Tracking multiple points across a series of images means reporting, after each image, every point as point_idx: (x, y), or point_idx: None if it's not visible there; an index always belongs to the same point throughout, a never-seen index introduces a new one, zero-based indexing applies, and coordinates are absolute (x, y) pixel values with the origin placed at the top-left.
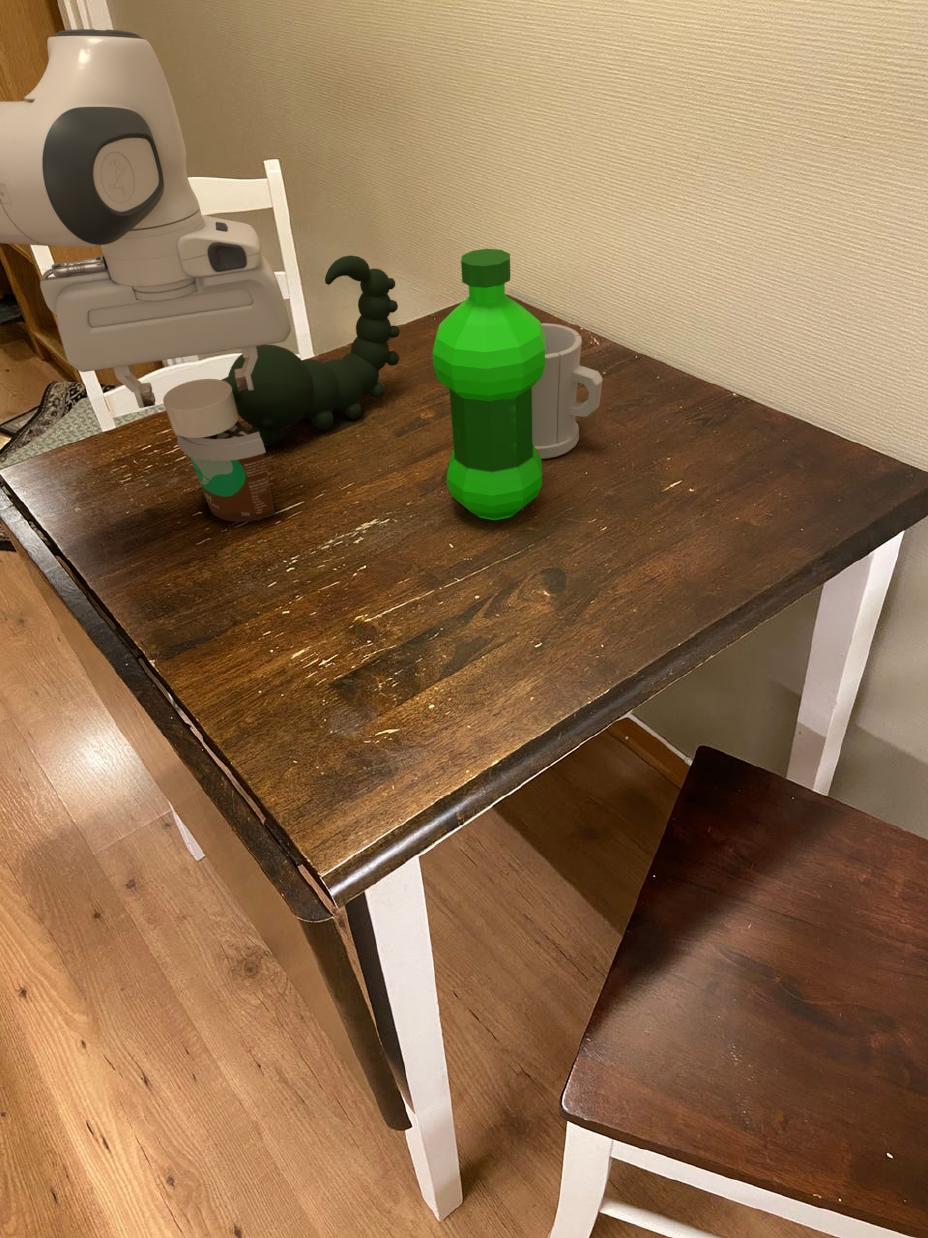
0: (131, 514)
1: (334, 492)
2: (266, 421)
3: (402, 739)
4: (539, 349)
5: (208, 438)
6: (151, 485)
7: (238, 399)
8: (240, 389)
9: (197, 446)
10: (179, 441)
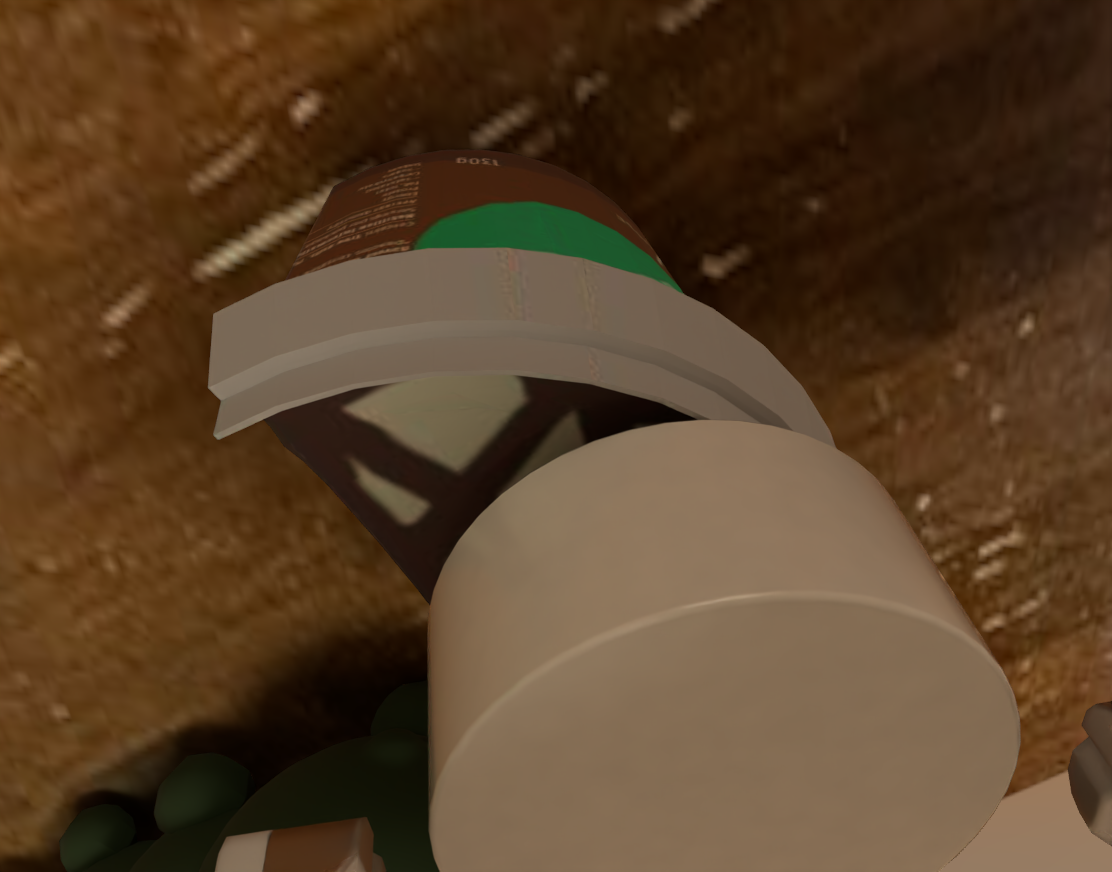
0: (1014, 308)
1: (49, 327)
2: (398, 753)
3: None
4: None
5: None
6: (909, 498)
7: None
8: (338, 837)
9: (732, 374)
10: None
